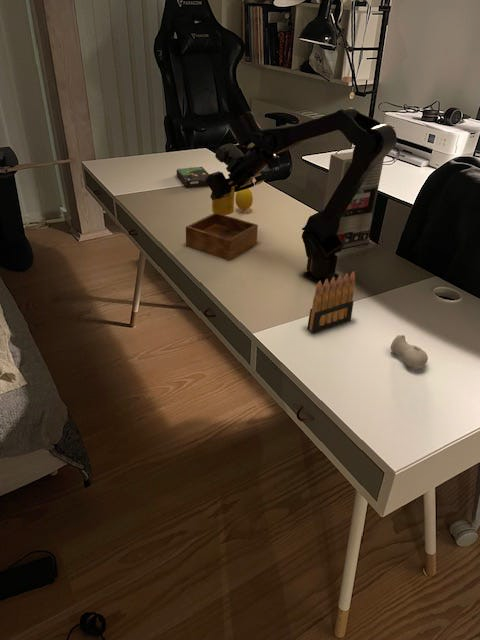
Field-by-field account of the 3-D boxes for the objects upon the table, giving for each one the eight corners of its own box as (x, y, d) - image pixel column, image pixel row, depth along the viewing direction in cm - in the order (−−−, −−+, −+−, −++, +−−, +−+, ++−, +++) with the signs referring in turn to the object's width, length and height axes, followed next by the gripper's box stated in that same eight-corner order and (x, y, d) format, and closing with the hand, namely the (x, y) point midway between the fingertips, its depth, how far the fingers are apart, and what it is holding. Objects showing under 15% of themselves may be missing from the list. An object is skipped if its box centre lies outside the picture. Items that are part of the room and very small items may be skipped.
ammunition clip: (312, 333, 105) (319, 283, 99) (306, 329, 107) (313, 279, 100) (350, 320, 110) (360, 272, 104) (345, 316, 111) (354, 268, 105)
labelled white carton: (330, 252, 139) (344, 160, 125) (318, 243, 143) (330, 154, 130) (369, 243, 144) (387, 155, 131) (356, 235, 149) (372, 149, 135)
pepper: (238, 212, 139) (239, 179, 134) (220, 216, 135) (221, 183, 130) (225, 205, 143) (225, 173, 138) (207, 209, 139) (207, 177, 134)
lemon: (250, 215, 159) (251, 190, 155) (233, 213, 160) (234, 188, 156) (253, 208, 164) (255, 184, 159) (237, 207, 165) (237, 183, 160)
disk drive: (214, 186, 181) (202, 173, 193) (214, 178, 180) (202, 166, 191) (186, 188, 178) (175, 175, 190) (186, 180, 177) (175, 167, 188)
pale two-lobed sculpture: (427, 374, 97) (409, 373, 95) (401, 350, 103) (383, 349, 101) (438, 356, 95) (420, 355, 93) (411, 332, 101) (393, 331, 99)
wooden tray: (256, 243, 142) (258, 224, 139) (229, 260, 132) (229, 240, 129) (215, 229, 148) (215, 212, 145) (186, 245, 139) (185, 226, 136)
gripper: (259, 129, 132) (226, 163, 143) (211, 141, 119) (179, 177, 131) (281, 166, 132) (246, 196, 144) (235, 182, 120) (202, 214, 131)
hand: (219, 195), depth 137 cm, fingers closed on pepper, 6 cm apart
